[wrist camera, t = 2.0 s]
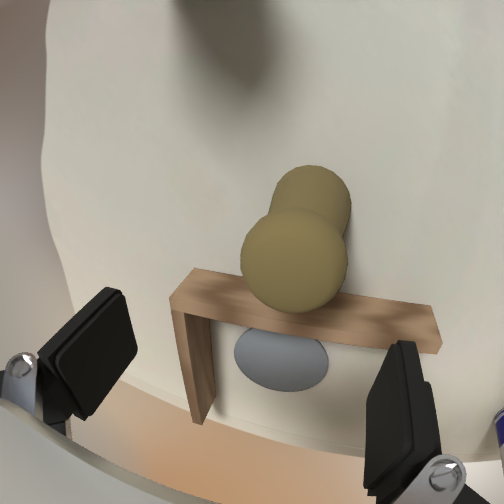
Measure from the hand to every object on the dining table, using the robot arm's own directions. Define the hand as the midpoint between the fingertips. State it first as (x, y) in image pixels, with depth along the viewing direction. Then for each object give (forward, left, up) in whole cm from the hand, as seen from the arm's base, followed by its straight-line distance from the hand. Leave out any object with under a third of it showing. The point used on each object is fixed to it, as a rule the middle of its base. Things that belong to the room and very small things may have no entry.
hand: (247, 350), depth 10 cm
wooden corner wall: (-2, +17, -15) cm, 23 cm away
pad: (0, +17, -15) cm, 23 cm away
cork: (-1, 0, -16) cm, 16 cm away
